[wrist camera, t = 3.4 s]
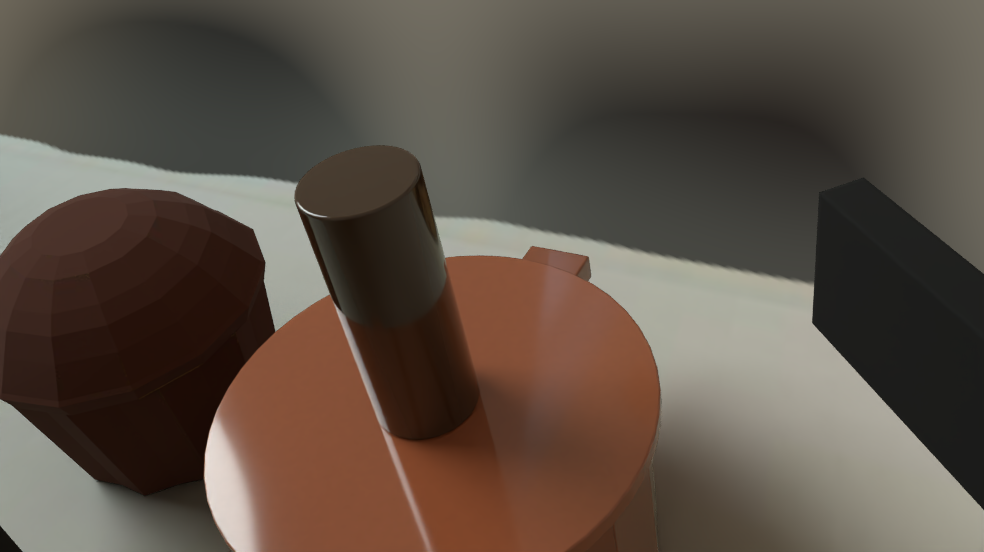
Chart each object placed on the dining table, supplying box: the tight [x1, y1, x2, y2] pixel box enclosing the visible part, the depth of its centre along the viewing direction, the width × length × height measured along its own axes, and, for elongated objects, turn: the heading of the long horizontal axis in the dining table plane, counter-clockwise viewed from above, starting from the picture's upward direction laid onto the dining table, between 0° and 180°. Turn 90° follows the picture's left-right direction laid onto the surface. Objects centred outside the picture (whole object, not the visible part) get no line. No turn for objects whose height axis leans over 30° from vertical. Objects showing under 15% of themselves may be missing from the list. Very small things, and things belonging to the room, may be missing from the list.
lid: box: [204, 145, 662, 552], centre depth 25 cm, size 14×14×9 cm
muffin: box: [0, 188, 275, 496], centre depth 36 cm, size 12×11×10 cm
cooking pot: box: [523, 246, 658, 552], centre depth 30 cm, size 13×18×6 cm
